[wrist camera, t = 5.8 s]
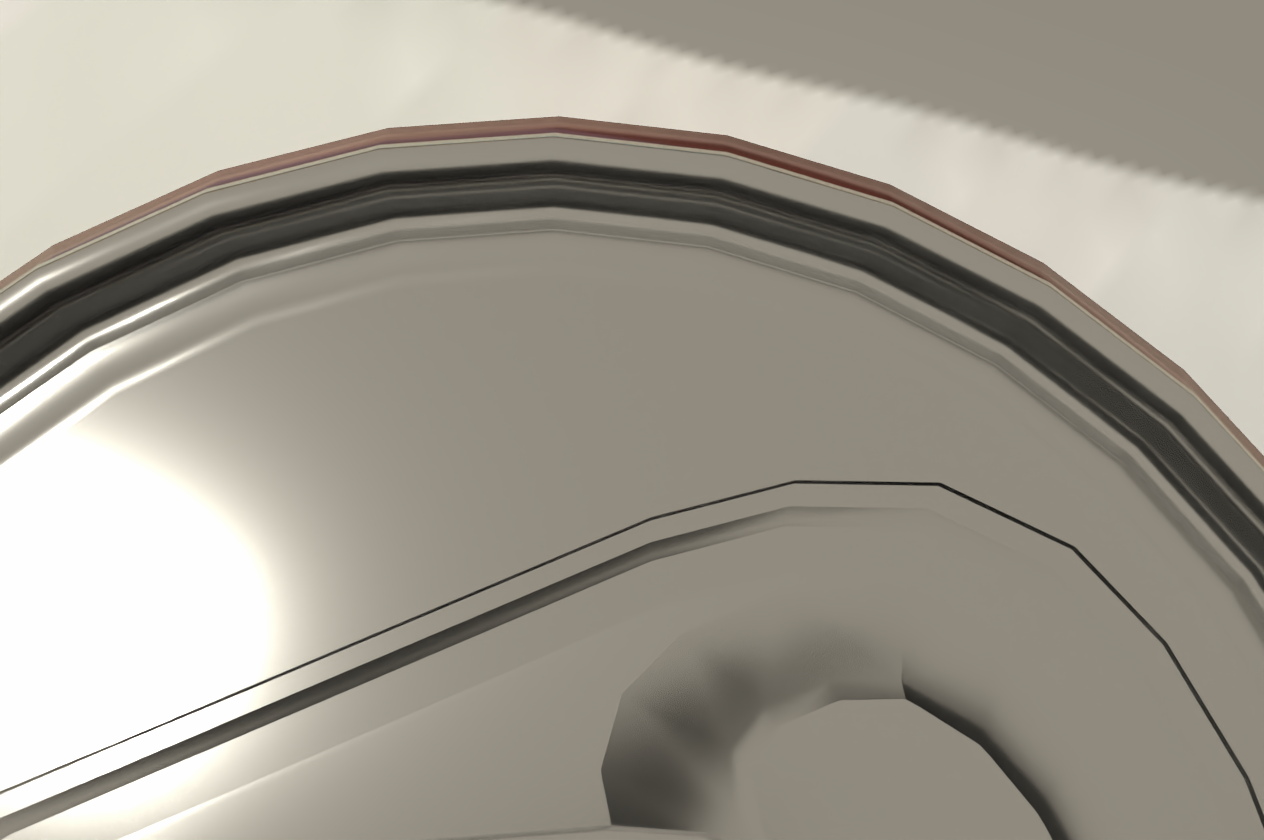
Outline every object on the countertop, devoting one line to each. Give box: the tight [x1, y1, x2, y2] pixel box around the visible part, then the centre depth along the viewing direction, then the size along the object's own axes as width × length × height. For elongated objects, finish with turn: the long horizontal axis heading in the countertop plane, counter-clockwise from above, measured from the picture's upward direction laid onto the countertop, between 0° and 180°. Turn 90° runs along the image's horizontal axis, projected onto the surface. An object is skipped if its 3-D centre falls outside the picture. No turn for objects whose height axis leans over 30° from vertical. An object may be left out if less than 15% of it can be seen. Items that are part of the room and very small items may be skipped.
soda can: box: [0, 116, 1264, 840], centre depth 9 cm, size 7×7×12 cm
